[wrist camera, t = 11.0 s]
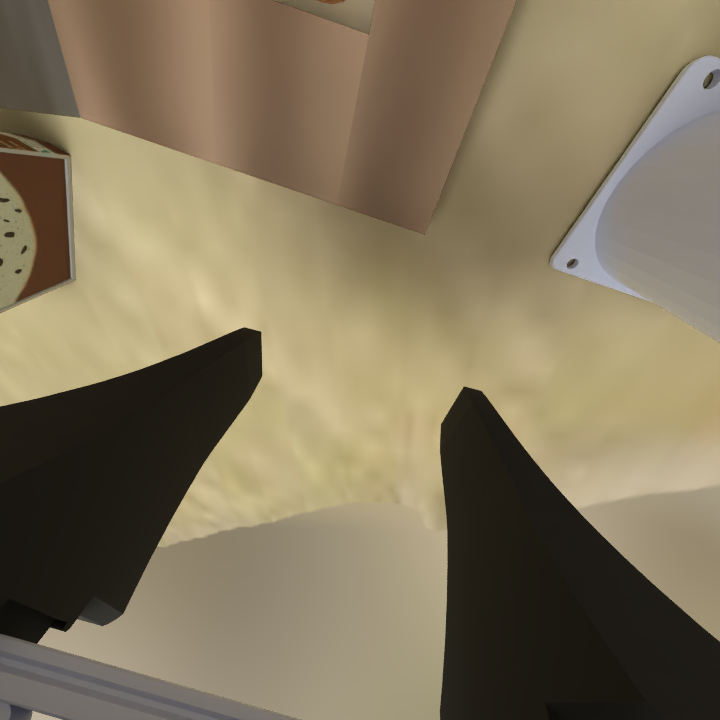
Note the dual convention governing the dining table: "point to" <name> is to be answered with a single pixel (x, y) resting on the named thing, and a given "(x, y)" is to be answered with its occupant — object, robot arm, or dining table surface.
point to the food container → (34, 219)
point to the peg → (330, 1)
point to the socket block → (268, 87)
